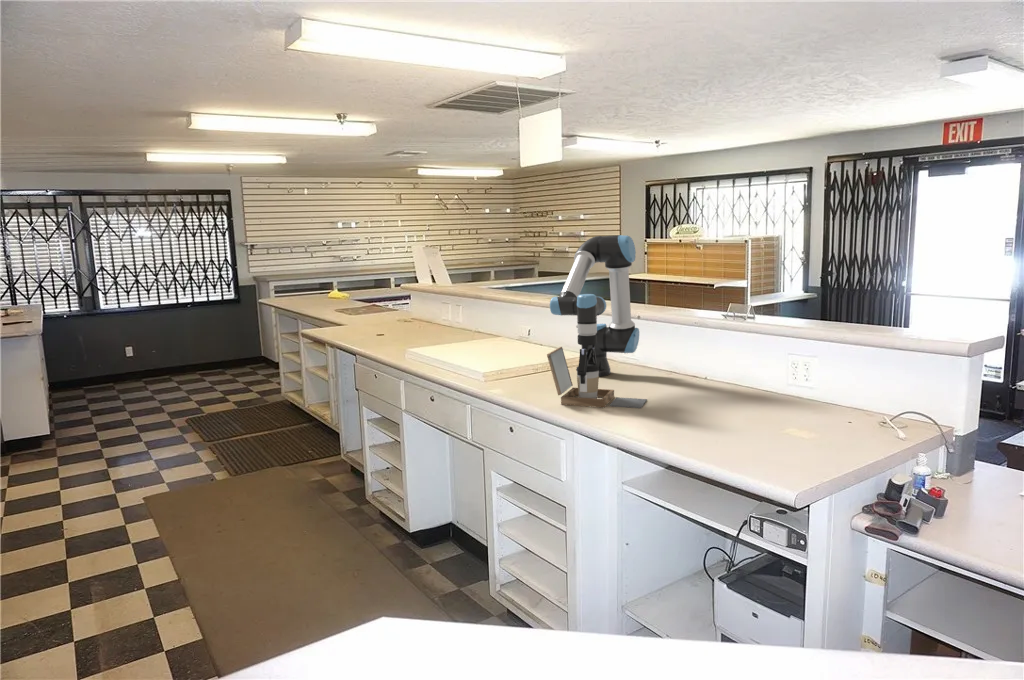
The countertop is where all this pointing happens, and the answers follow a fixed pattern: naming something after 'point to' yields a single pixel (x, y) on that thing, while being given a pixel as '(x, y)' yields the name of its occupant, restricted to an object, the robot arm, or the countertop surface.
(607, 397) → the tray
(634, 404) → the mat
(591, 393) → the coffee cup
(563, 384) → the lid
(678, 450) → the countertop surface
